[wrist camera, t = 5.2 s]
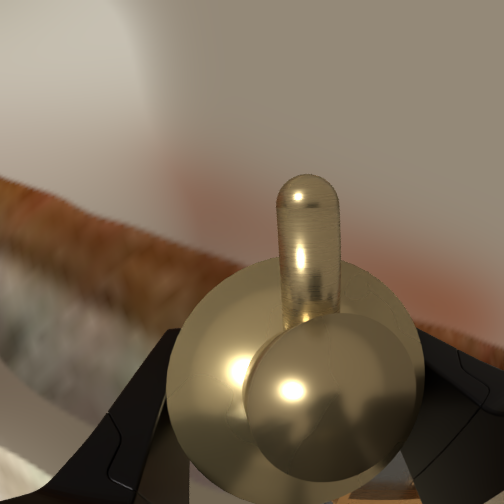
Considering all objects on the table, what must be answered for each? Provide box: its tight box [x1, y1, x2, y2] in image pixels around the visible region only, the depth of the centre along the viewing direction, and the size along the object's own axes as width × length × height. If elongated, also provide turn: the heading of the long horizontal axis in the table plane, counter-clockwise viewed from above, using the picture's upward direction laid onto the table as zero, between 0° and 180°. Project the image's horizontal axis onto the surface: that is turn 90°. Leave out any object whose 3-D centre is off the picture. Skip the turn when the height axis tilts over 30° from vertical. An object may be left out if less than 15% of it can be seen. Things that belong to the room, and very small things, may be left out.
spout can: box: [166, 174, 425, 504], centre depth 9 cm, size 6×5×12 cm
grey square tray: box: [322, 451, 422, 504], centre depth 16 cm, size 11×11×5 cm
